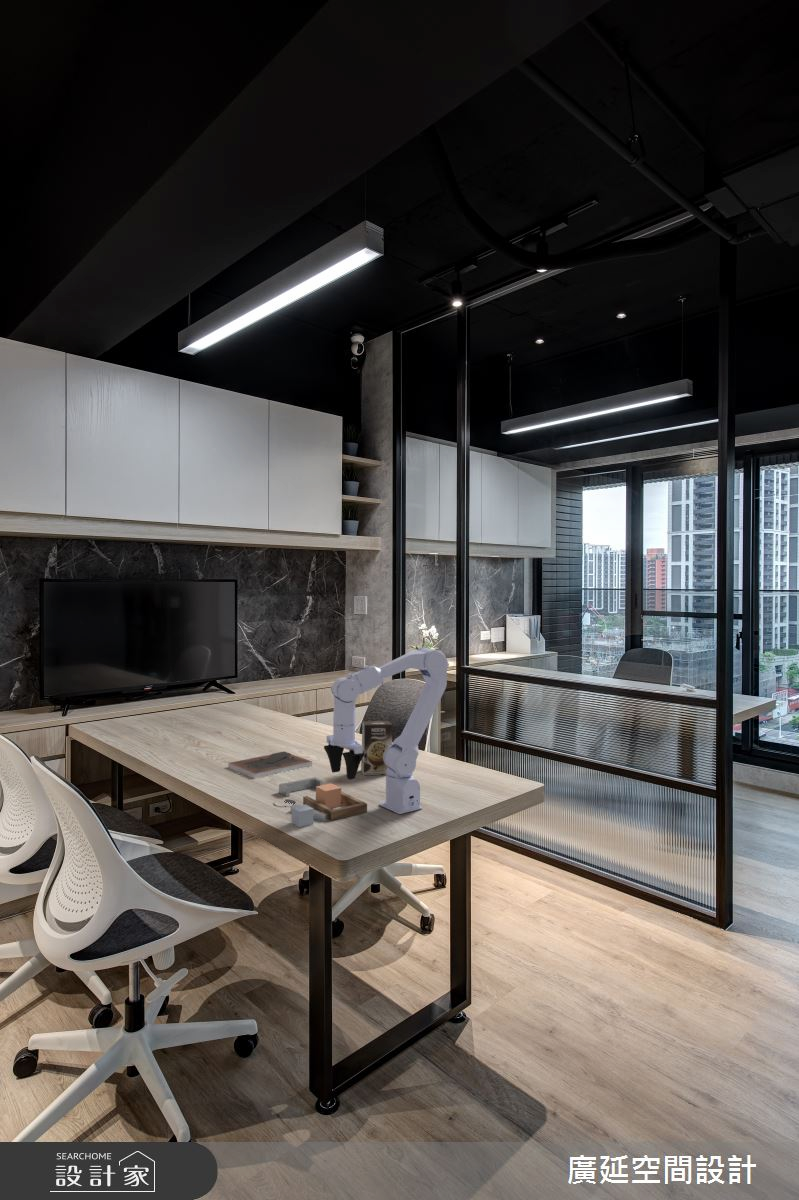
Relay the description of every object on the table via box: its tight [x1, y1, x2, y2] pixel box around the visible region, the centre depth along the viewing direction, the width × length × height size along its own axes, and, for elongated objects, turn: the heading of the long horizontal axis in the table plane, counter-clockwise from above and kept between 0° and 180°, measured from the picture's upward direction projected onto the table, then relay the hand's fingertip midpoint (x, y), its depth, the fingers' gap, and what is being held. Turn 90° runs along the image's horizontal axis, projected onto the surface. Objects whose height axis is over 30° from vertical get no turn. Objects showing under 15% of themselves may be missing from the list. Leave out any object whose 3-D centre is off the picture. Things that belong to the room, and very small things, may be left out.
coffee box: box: [360, 720, 393, 776], centre depth 210 cm, size 9×6×16 cm
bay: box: [302, 790, 368, 821], centre depth 175 cm, size 15×11×2 cm
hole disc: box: [284, 798, 297, 805], centre depth 179 cm, size 6×6×1 cm
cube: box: [315, 782, 342, 809], centre depth 178 cm, size 5×5×5 cm
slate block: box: [290, 804, 314, 828], centre depth 164 cm, size 4×4×4 cm
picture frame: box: [227, 751, 313, 779], centre depth 214 cm, size 16×2×22 cm
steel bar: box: [290, 803, 330, 822], centre depth 170 cm, size 12×2×2 cm, turn 54°
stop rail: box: [278, 776, 324, 797], centre depth 190 cm, size 4×12×2 cm, turn 128°
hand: (343, 775), depth 172 cm, fingers open, 7 cm apart
